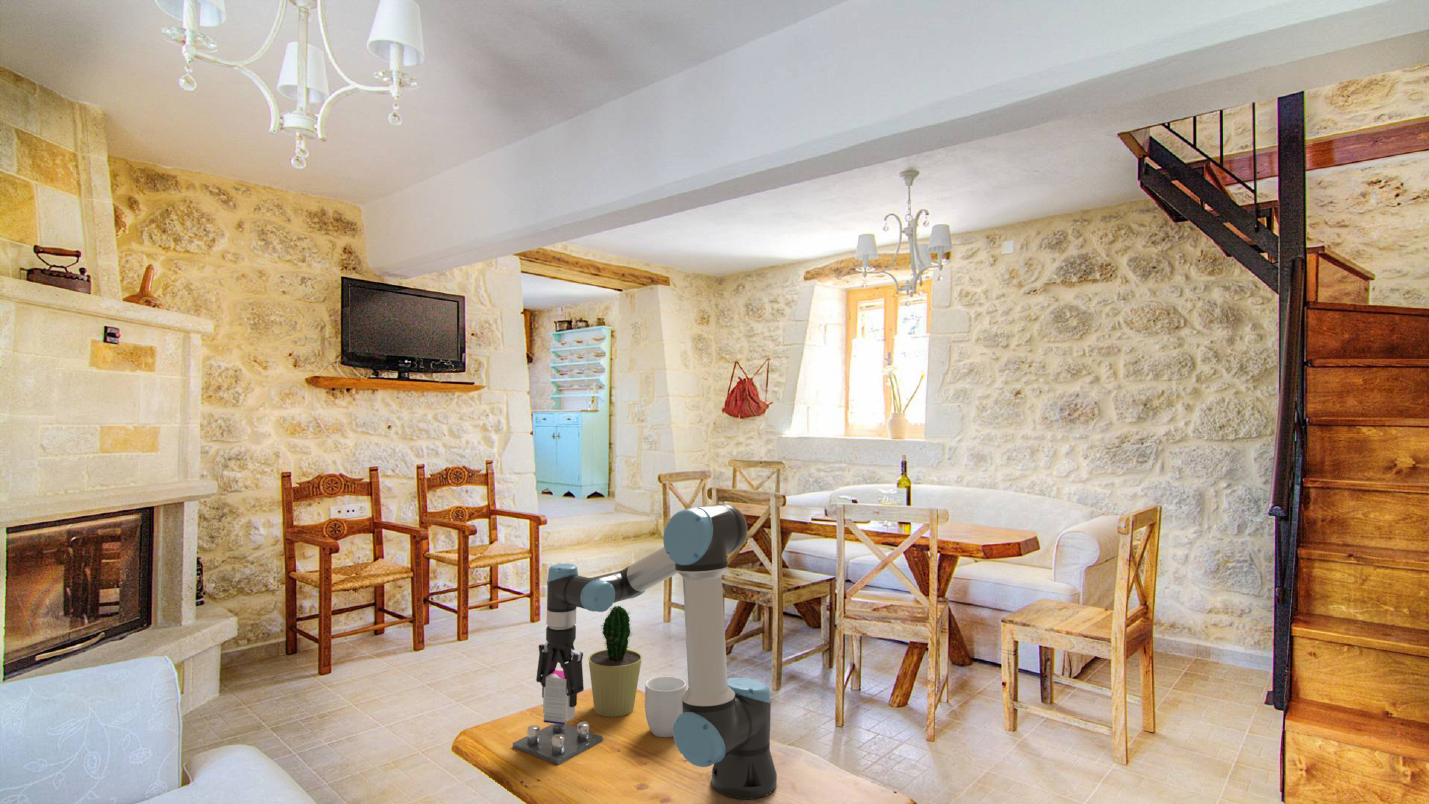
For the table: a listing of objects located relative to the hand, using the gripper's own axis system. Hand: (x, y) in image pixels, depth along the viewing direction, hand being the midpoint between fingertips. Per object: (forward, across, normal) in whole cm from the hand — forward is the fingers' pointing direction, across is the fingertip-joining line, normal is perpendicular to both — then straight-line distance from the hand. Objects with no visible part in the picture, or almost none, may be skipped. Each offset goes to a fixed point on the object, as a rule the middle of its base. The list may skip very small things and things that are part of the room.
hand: (558, 714), depth 181 cm
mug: (+7, -19, -22) cm, 30 cm away
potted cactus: (+8, +3, -25) cm, 26 cm away
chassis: (+7, 0, 0) cm, 7 cm away
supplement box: (+1, 0, 0) cm, 1 cm away
